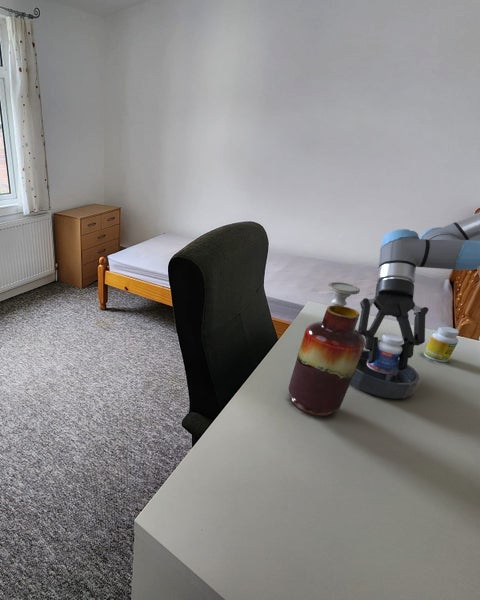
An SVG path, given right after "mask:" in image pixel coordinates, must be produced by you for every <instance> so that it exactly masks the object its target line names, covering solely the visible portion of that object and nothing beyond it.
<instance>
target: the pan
mask: <svg viewBox="0 0 480 600" xmlns="http://www.w3.org/2000/svg"><path fill="white" fill-rule="evenodd" d="M368 358H369V350H368V349H363V352H362V354H361V357H360V359H359V362H358V365H357V367H356V370H355V372H354V375H353V377H352V380H351V382H350V385H352V386H354V387H355V388H357V389H359V390H360V391H362V392H365V393H367V394H369V395H373V396H376V397H379V398H385V399H392V400H393V399H395V400H396V399H397V400H398V399H406V398H410V397H411V396H412V395H413V393H414V391H415V389H416V387H417V385H418V383H419V381H420V378H421V377H420V373H418V372H417V370H415V368H414V367H413V366H411V365H409V363H407V368H406V369H404V370H398V366H399V359H398V361H397V363H396V365H395V367H394V369H393V371H392V372H391V373H389V374H384V373H380V372H376V371H374V370H372V369H370V368H369V367H368V366H367V361H368Z"/></svg>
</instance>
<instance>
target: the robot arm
mask: <svg viewBox="0 0 480 600" xmlns="http://www.w3.org/2000/svg"><path fill="white" fill-rule="evenodd" d="M378 260H379V262H378V271H377V278H376V282H377V283H376V288H375V295H374V297H373V298H368V297H365V298H362V300H361V301H360V302H359V305H360V309H361V311H360V315H359V322H358V329H357V331H358V332H360V334H361V335H362V336H363V337H364V340H365V346H364V348H365V349H364V350H367V351H369V358H368V363H371V364H372V363H374V362H375V361H376V353H377V344H378V340H379V337H378V336H375V335H376V334H377V332H378V329H380V326H381V324H382V322H383V321H384V319H385V316H387V317H388V316H391V317H393V318H395V319H396V321H397V322H398V327H399V330H400V333H401V337H402V338H403V343H402V344H401V345H400V346H401V347H402V352H401V355H400V357H399V366H398V370H404V369H406V368H407V364H409V363H408V361H409V359H410V358H412V357H413V356H414V351H415V346H417V347H418V346H420V345H423V344H424V343H425V342H426V315H427V314H428V313H429V308H428V307H427V306H423V307H421V306H418V305H416V303H415V300H414V294H415V282H416V269H417V268H427V269H441V270H455V271H473V270H477V269H478V268H479V267H480V211H479V212H477V213H474V214H472V215H469V216H467V217H465V218H462V219H460V220H458V221H454V222H452V223H450V224H448V225H447V224H446V225H445V226H440V227H439V226H438V227H431V228H429V229H427V230H425V231H424V232H422V234H421V235H420V236H419V233H418V232H416V231H415V230H410V229H407V228H401V229H400V228H399V229H394V230H391V231H389V232H387V233H385V234H384V235H383V237H382V241H381V244H380V249H379V259H378ZM373 305H374V307H375V308H376V309H377V310H378V311H377V313H376V315H375V317H374V320H373V322H372V323H371V325H370V327H369V328H368V324H369V319H370V313H371V307H372V306H373ZM411 311H413V315H414V319H413V321H414V323H413V330H412V327H411V322H410V319H409V316H410V315H409V312H411Z"/></svg>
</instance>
